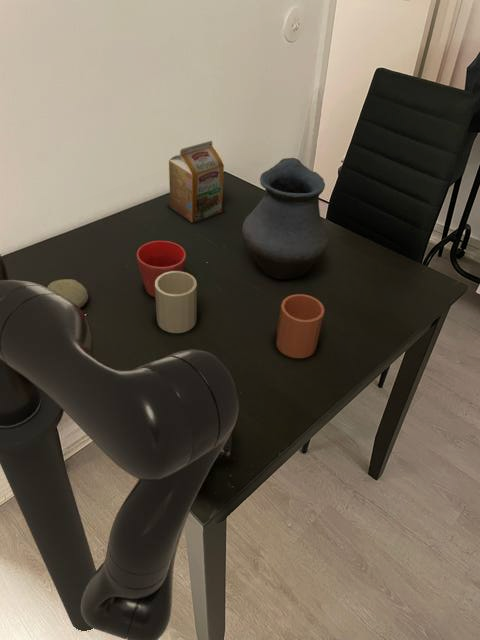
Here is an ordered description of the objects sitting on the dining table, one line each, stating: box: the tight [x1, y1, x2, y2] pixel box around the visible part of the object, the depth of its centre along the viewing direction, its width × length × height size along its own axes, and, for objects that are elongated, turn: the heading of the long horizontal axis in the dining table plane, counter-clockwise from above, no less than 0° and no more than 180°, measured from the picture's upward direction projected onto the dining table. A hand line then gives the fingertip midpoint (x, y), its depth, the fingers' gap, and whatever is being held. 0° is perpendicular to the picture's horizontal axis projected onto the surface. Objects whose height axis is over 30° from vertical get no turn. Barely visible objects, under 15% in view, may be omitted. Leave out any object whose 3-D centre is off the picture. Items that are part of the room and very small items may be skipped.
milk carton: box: [168, 140, 225, 224], centre depth 139 cm, size 10×11×19 cm
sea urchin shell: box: [46, 278, 89, 309], centre depth 109 cm, size 9×8×8 cm
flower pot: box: [136, 240, 187, 298], centre depth 113 cm, size 11×11×10 cm
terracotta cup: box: [275, 293, 325, 359], centre depth 102 cm, size 8×8×10 cm
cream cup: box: [155, 271, 198, 334], centre depth 105 cm, size 8×8×10 cm
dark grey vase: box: [241, 157, 330, 280], centre depth 118 cm, size 21×22×25 cm
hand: (205, 394), depth 85 cm, fingers closed on beer can, 5 cm apart
